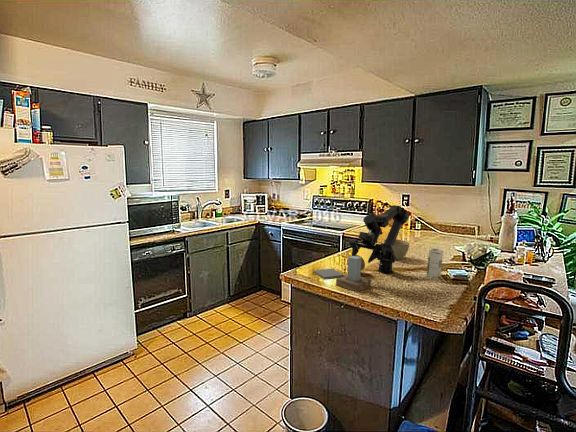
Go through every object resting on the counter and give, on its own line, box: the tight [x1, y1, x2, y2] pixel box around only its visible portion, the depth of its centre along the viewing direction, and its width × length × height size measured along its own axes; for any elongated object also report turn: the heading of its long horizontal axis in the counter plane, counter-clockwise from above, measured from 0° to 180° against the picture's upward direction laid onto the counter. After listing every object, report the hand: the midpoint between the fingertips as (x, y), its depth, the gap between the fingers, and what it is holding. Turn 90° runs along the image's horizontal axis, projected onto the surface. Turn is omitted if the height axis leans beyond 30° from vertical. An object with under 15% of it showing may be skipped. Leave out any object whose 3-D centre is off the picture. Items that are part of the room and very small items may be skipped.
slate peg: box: [347, 255, 362, 282], centre depth 158 cm, size 4×4×14 cm
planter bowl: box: [382, 238, 411, 261], centre depth 212 cm, size 16×16×11 cm
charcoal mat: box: [312, 267, 345, 280], centre depth 175 cm, size 12×12×1 cm
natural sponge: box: [356, 254, 366, 271], centre depth 179 cm, size 9×9×10 cm
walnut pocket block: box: [335, 274, 372, 293], centre depth 158 cm, size 12×12×3 cm
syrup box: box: [426, 248, 444, 279], centre depth 175 cm, size 6×6×14 cm
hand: (359, 260), depth 161 cm, fingers open, 9 cm apart
